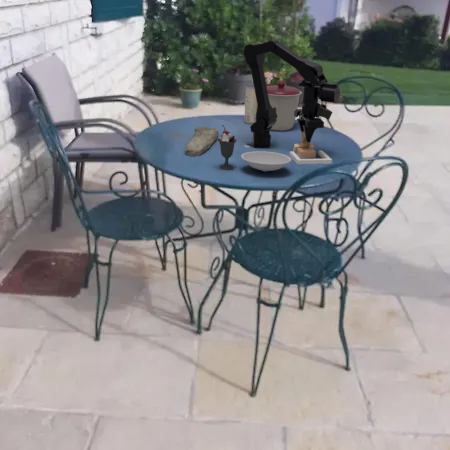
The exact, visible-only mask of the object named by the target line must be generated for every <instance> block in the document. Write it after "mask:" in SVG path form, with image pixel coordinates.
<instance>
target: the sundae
mask: <svg viewBox="0 0 450 450" xmlns="http://www.w3.org/2000/svg"><path fill="white" fill-rule="evenodd" d="M221 127H223V128H224V130H223V131H222V134H221V135H220V137H219V138H217V141H218V142H219V146H220V153H221V156H222V157H224V164H221V165H220V166H219V168H220V169H222V170H227V171H229V170H232V169H234V166H233V165H230V164H229V163H230V162H229V159H230V158H231V157H232V156H233V153H234V148H235V144H236V142H237V138H235V137H236V136H235V135H233V134H232V133H231V132H230V131H228V130H227V129H226V127H225V125H224V124H222V125H221Z"/></svg>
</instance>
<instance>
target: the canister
mask: <svg viewBox="0 0 450 450" xmlns="http://www.w3.org/2000/svg"><path fill="white" fill-rule="evenodd" d="M266 86H267V92H268V97H269V103H270V105H271V106H272V108H274V107H276V114H277V116H278V117H277V121H276V123H275V124H274V125H273V126H272V129H270V130H269V131H278V132H279V131H280V132H283V131H290V130H291V129H292V128H293V127H294V125H295V121H296V119H297V117H295V116H294V112H295V110H296V109H299V108H298V106H299V101H300V96H301V95H302V94H303V91H301V90H299V88H296V87H294V86H291V85H290V86H289V85H286V82H285V81H284V80H283V79H281V80H278V81H277V84H276V85H266Z"/></svg>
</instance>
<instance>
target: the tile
mask: <svg viewBox="0 0 450 450" xmlns="http://www.w3.org/2000/svg"><path fill="white" fill-rule="evenodd" d="M296 154H297V156H298V157H299V158H300V159H317V157H316V155H317V151H316V150H315V148H314V149H313V148H297V152H296Z"/></svg>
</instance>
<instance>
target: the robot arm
mask: <svg viewBox="0 0 450 450" xmlns="http://www.w3.org/2000/svg"><path fill="white" fill-rule="evenodd" d="M242 53H243V57H244V60H245V62H246V63H245V64H247V66H248V67H249V69H250V72H251V77H252V78H253V84H254V89H255V95H256V100H257V112H256V122H255V123H254V124H250V132H251V133H252V139H251V143H250V144H251V145H252V147H253V148H255V149H256V148H257V149H258V148H260V149H261V148H262V149H263V148H266V149H267V148H271V146H270V145H271V139H272V135H271V130H270V129H272V126H273V125H274V124H275V123H276V121H277V117H278V116H277V114H276V107H274V108H272V106H271V105H270V103H269V97H268V92H267V86H268V85H267V81H266V75H265V71H264V64H265V59H266V56H265V55H266V54H269V53H272V54H274V55H275V56H277V57H278V58H280V59H281V60H282V61H284V62H285V63H287V64H288V65H290V66H292V68H294V69H295V70H296V71H297V73H298V74H299V75H300V76H301V78H302V80H301V82H300V83H298V84H297V85H298V87H303V91H302V100H300V104H301V108H297V109H296V110H295V112H294V116H295V117H296V121H297V124H298V126H299V128H300V132H301V134H302V133H303V131H304V132H305V136H306V140H307V142H310V141H312V139H313V136H314V133H315V131H316V130H317V129H323V128H325V122H324V120H323V119H322V118H324V119H326V120H327V121H329V120H330V119H331V117H332V115H333V111H332V110H330V109H329V108H327V105H326V104H324V103H320V102H325V103H332V104H338V102H339V101H340V97H341V91H340V87H339V86H340V84H339V83H331V82H328V79H327V78H326V75H325V74H324V70H323V66H322V65H321V64H319V63H317V62H315V61H312V60H309V59H305V58H303V57H302V56H301V55H299V54H297V53H296V52H295V51H293V50H291V49H290V48H289V47H287V46H286V45H284V44H283V43H281V42H280V41H279V40H278V39H271V40H268V41H266V42H262V43H259V42H255V43H254V42H253V43H249V44H247V45H245V47H244V48H243V51H242ZM252 78H251V79H252ZM319 100H320V102H319ZM320 117H322V118H320ZM310 143H311V142H310Z"/></svg>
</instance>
